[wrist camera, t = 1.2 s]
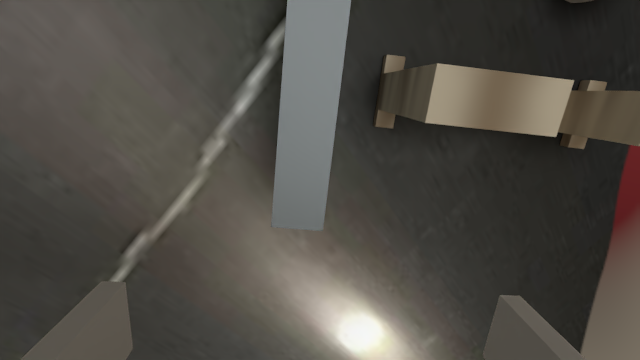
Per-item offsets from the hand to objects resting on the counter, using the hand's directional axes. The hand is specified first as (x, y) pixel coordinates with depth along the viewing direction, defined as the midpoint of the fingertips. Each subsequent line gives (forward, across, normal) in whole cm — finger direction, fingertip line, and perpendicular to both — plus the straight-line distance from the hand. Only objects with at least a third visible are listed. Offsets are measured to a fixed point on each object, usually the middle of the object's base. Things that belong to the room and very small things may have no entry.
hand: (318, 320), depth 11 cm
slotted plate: (+19, 0, +9) cm, 21 cm away
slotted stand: (+19, +16, +8) cm, 26 cm away
